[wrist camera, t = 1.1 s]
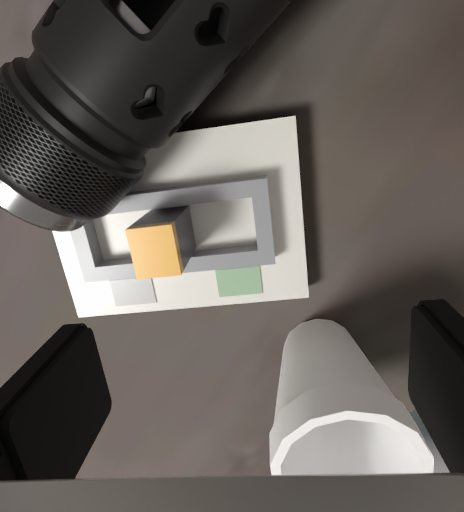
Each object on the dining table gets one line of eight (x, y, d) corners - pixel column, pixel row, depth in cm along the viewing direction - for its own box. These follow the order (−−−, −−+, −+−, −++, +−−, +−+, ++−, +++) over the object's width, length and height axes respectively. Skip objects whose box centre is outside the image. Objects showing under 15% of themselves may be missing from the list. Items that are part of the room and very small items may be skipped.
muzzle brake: (395, -89, 23) (496, -255, 13) (116, 219, 31) (48, 261, 21) (291, -230, 21) (316, -542, 11) (24, 134, 29) (-98, 135, 19)
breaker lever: (188, 205, 28) (171, 224, 23) (196, 247, 29) (181, 275, 24) (151, 209, 28) (124, 229, 23) (159, 251, 29) (136, 279, 24)
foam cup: (392, 336, 33) (470, 461, 21) (331, 405, 36) (367, 550, 24) (303, 284, 32) (329, 384, 20) (248, 360, 35) (241, 487, 23)
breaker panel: (293, 116, 27) (297, 115, 24) (306, 287, 32) (311, 306, 28) (43, 152, 30) (15, 155, 26) (88, 306, 34) (69, 326, 31)
